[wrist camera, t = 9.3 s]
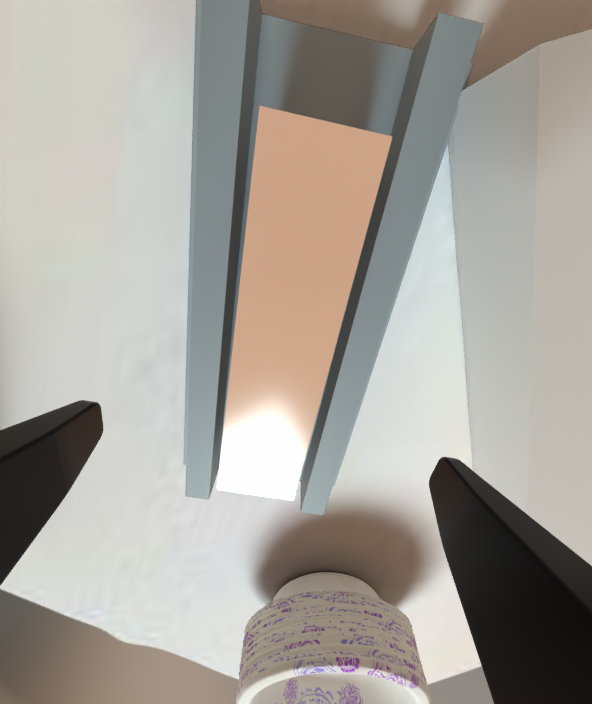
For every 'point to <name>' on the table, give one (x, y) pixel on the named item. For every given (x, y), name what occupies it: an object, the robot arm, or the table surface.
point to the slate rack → (234, 190)
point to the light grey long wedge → (529, 280)
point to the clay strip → (293, 291)
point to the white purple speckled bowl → (330, 647)
